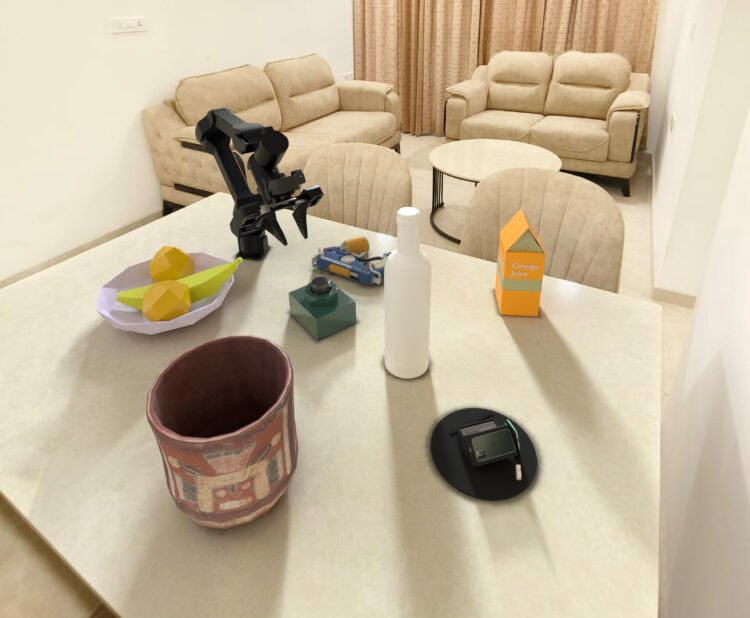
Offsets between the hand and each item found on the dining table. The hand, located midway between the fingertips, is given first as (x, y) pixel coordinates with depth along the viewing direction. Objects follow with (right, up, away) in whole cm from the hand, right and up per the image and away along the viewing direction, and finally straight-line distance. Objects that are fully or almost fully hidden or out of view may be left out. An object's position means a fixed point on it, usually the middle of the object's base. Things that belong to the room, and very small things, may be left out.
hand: (296, 241), depth 103 cm
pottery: (-2, -29, -35) cm, 46 cm away
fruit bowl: (-25, -14, +2) cm, 29 cm away
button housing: (+6, -15, -2) cm, 16 cm away
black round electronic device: (+32, -27, -31) cm, 52 cm away
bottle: (+22, -20, -14) cm, 33 cm away
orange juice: (+46, -13, +2) cm, 48 cm away
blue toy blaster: (+13, -8, +17) cm, 23 cm away
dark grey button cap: (+5, -9, -4) cm, 11 cm away
